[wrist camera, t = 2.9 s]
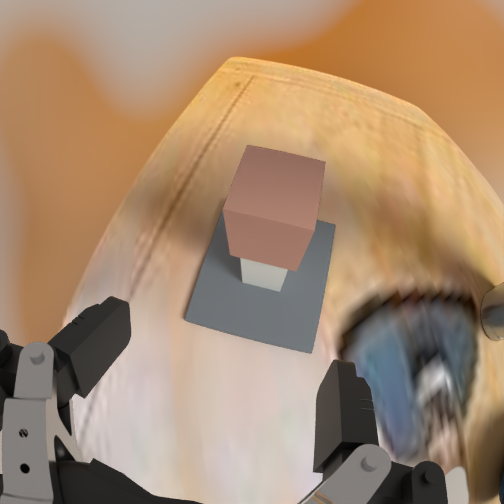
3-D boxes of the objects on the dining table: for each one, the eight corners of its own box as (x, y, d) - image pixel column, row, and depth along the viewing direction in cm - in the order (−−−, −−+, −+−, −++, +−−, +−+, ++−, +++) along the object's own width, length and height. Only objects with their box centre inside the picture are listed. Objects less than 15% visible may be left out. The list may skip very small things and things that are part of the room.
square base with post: (226, 201, 41) (215, 104, 25) (333, 227, 40) (377, 140, 23) (185, 321, 34) (130, 276, 18) (310, 353, 33) (366, 337, 16)
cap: (247, 200, 28) (247, 144, 21) (308, 214, 28) (325, 161, 20) (230, 255, 26) (222, 208, 19) (296, 271, 25) (314, 230, 18)
